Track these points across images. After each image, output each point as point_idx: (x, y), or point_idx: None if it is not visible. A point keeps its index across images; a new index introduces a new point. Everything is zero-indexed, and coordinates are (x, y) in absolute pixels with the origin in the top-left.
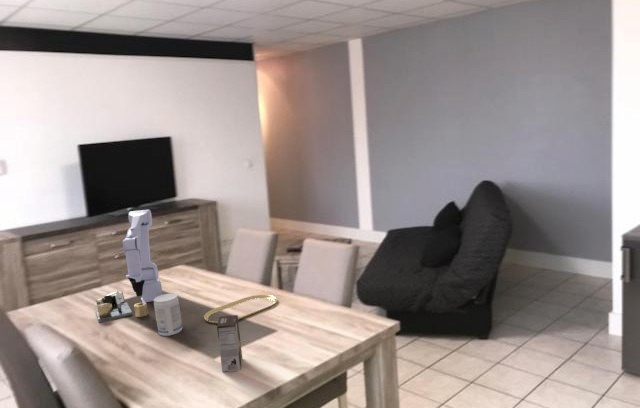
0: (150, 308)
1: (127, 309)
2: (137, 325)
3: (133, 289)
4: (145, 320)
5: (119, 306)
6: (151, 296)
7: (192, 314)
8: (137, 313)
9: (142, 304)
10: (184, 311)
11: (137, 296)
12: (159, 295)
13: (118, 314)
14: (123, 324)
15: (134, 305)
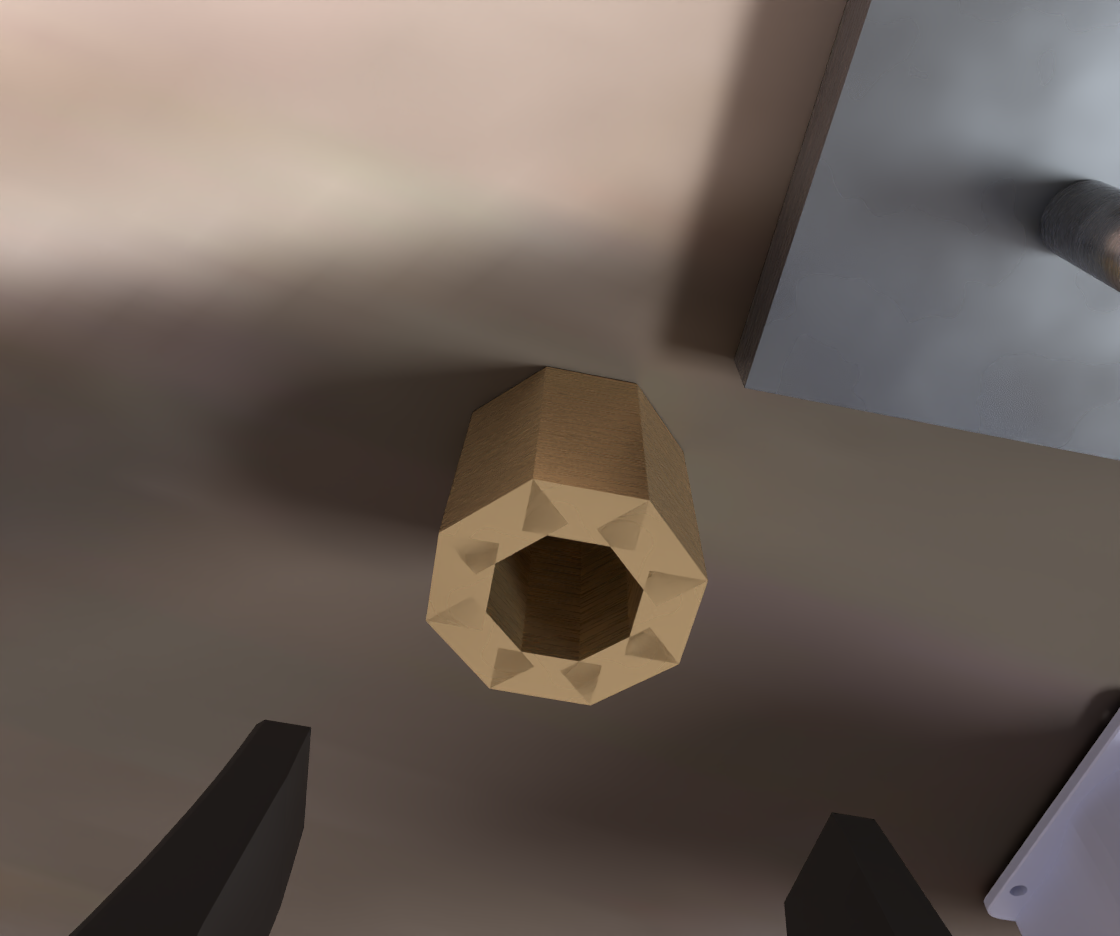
0: (760, 667)
1: (988, 376)
2: (34, 213)
3: (869, 895)
4: (218, 413)
5: (1109, 249)
6: (1109, 864)
7: (13, 868)
8: (505, 421)
9: (598, 633)
10: None
11: (259, 727)
12: (1052, 931)
13: (869, 101)
14: (307, 7)
15: (601, 497)
